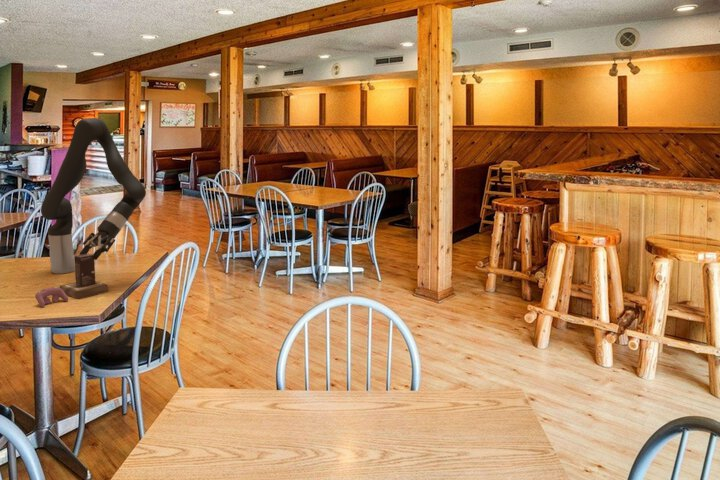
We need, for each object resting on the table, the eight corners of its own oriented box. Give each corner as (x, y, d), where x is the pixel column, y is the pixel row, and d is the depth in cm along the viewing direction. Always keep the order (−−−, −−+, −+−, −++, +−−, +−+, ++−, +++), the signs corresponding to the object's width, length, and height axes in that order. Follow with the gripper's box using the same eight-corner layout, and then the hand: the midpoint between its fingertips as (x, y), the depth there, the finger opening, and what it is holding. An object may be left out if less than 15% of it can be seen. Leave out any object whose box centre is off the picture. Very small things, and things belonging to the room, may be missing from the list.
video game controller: (64, 303, 202) (58, 286, 203) (70, 300, 200) (64, 282, 200) (37, 310, 194) (31, 292, 195) (42, 307, 192) (36, 288, 192)
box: (82, 287, 208) (79, 257, 205) (75, 285, 210) (73, 255, 208) (96, 284, 213) (94, 254, 210) (90, 282, 215) (87, 253, 213)
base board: (60, 293, 210) (59, 285, 209) (89, 286, 220) (88, 278, 219) (78, 299, 203) (78, 290, 202) (108, 291, 213) (107, 283, 212)
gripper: (95, 217, 219) (70, 249, 212) (116, 221, 212) (90, 254, 204) (108, 228, 225) (84, 259, 217) (129, 232, 217) (104, 265, 210)
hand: (87, 257), depth 211 cm, fingers open, 8 cm apart
